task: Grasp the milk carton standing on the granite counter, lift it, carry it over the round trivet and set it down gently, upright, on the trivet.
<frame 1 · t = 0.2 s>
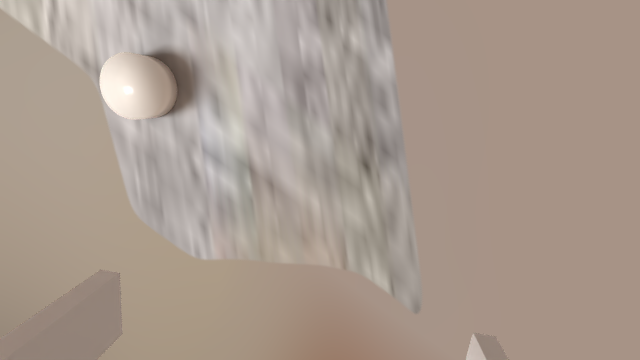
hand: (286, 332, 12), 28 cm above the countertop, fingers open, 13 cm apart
cream rounded dome part: (149, 87, 39), on the countertop
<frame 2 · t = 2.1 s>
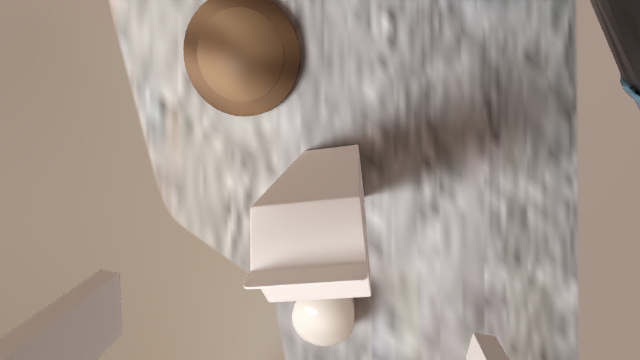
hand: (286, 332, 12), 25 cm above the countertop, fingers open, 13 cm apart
trivet: (242, 56, 34), on the countertop
cream rounded dome part: (325, 300, 40), on the countertop
milk: (334, 173, 36), on the countertop
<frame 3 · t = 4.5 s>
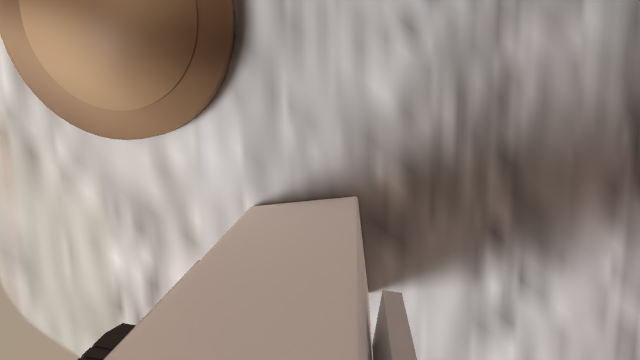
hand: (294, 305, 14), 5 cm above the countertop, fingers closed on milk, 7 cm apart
trivet: (119, 18, 17), on the countertop
milk: (311, 248, 19), on the countertop, touching gripper
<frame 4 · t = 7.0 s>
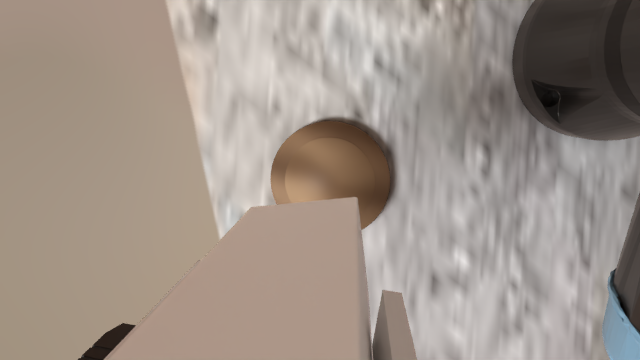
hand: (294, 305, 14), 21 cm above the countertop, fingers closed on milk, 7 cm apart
trivet: (329, 180, 34), on the countertop
milk: (311, 249, 19), point 16 cm above the countertop, touching gripper
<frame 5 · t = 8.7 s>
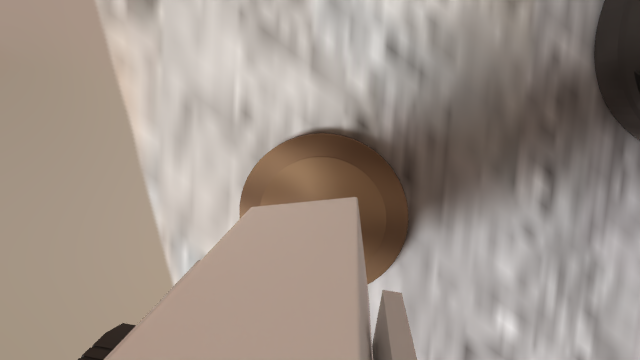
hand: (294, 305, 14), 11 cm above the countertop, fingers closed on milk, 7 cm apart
trivet: (322, 215, 24), on the countertop
milk: (311, 249, 19), point 6 cm above the countertop, touching gripper
when the fingers open (7 cm above the countertop, at t = 9.9 s): milk drops 1 cm, resting on trivet.
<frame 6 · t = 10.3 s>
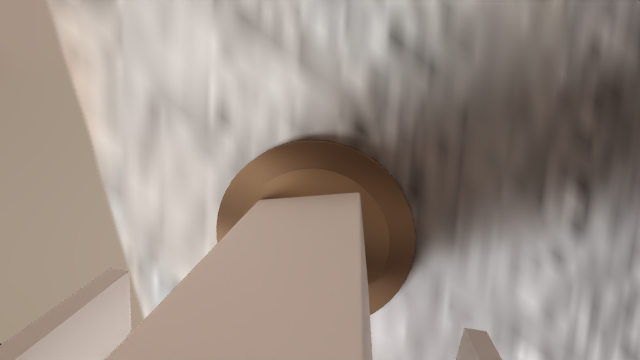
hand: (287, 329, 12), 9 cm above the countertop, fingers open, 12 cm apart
trivet: (314, 236, 21), on the countertop
milk: (314, 241, 20), point 1 cm above the countertop, touching trivet
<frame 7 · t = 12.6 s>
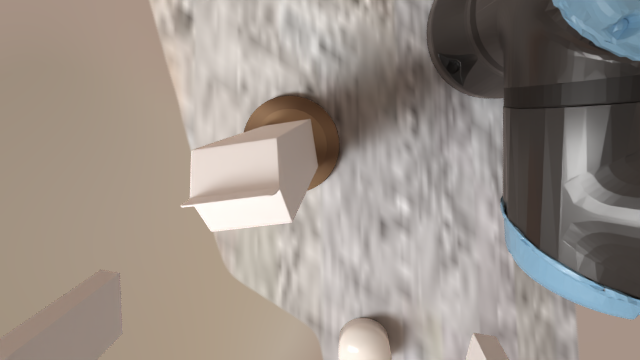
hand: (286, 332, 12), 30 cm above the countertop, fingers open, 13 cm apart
trivet: (291, 145, 41), on the countertop
cream rounded dome part: (363, 338, 48), on the countertop
milk: (291, 146, 41), point 1 cm above the countertop, touching trivet
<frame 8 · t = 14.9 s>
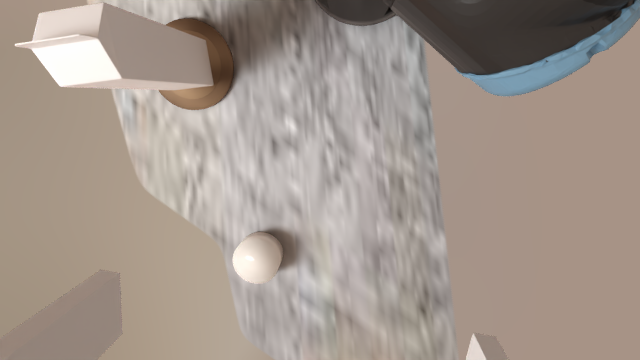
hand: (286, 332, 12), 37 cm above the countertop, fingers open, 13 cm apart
trivet: (192, 66, 47), on the countertop
cream rounded dome part: (261, 252, 53), on the countertop
milk: (190, 65, 46), point 1 cm above the countertop, touching trivet
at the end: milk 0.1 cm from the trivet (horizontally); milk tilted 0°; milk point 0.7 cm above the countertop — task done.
